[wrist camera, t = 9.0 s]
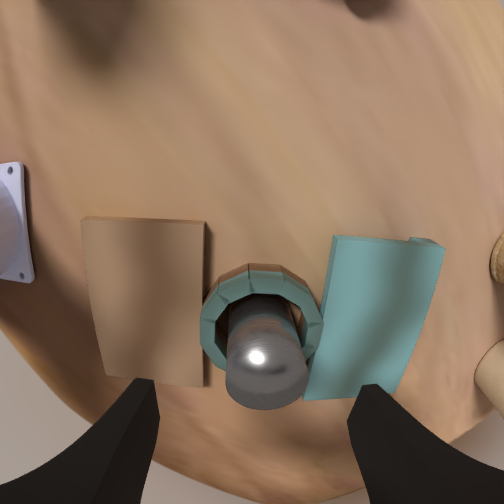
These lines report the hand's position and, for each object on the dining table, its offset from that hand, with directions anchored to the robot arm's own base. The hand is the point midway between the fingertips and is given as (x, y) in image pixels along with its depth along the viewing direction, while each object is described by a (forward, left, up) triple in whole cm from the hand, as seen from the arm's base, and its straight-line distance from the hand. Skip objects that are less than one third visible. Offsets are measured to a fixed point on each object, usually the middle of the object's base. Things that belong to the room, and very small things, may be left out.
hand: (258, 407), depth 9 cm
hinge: (+1, -1, -9) cm, 9 cm away
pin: (+1, -1, -9) cm, 9 cm away
